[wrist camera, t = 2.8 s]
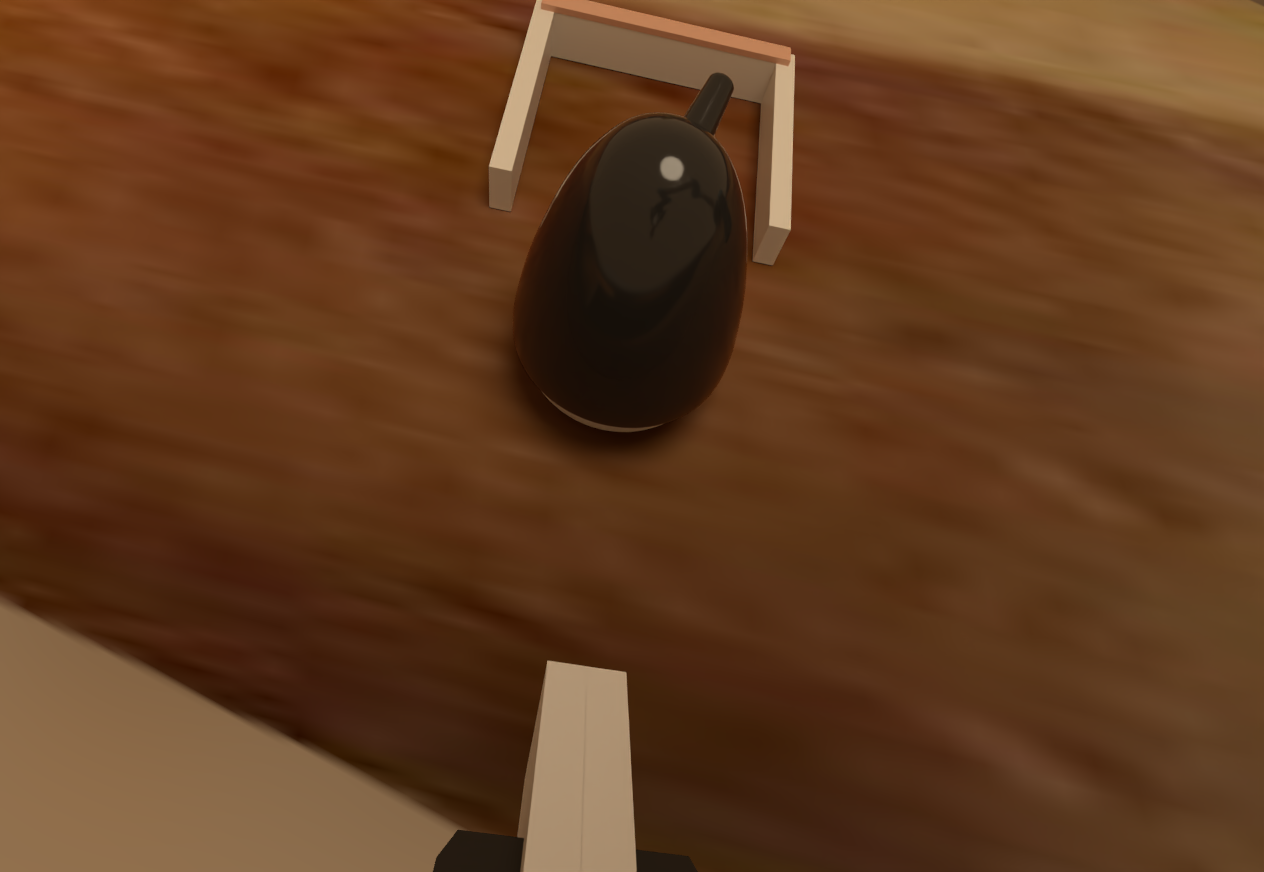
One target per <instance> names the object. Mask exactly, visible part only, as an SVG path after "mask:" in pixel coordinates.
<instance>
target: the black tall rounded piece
mask: <svg viewBox="0 0 1264 872" xmlns="http://www.w3.org/2000/svg"><path fill="white" fill-rule="evenodd" d="M733 90H734V85H733V82H732V80H731V79H730V78H729V77H728V76H727V75H725V74H723V73H713V74H711V75H710V76H709V78H708V79H707V81H706V82H705V84H704V86H703V87H702V89H701V90H700V92H699V93H698V95H697V97H696V98H695V100H694V101H693V103H692V104H691V106H690V108H689V109H688V111H687V112H686V114H685V116H684V117H682V116H679V115H675V114H669V113H646V114H641V115H638V116H635V117H632V118H629V119H627V120H625V121H623V122H621V123H620V124H618V125H616V126H615V127H613V128H612V129H611V130H609V131H608V132H607V133H605V134H604V135H603V136H602V137H601V138H599V139H598V140H597V141H596V142H595V143H594V144H593V145H592V146H591V147H590V148H589V149H588V150H587V151H586V152H585V153H584V154H583V155H582V157H581V158H580V159H579V160H578V162H577V163H576V164H575V165H574V167H573V168H572V170H571V171H570V172H569V174H568V175H567V177H566V178H565V180H564V181H563V183H562V184H561V186H560V188H559V190H558V191H557V193H556V195H555V197H554V199H553V200H552V202H551V204H550V206H549V208H548V210H547V212H546V214H545V216H544V218H543V220H542V222H541V224H540V226H539V228H538V230H537V232H536V235H535V237H534V239H533V242H532V244H531V247H530V249H529V252H528V255H527V258H526V261H525V264H524V267H523V270H522V274H521V277H520V281H519V284H518V288H517V292H516V297H515V303H514V311H513V336H514V342H515V347H516V350H517V353H518V356H519V359H520V361H521V363H522V365H523V367H524V369H525V371H526V372H527V374H528V375H529V377H530V378H531V380H532V381H533V382H534V383H535V385H536V386H537V387H538V388H539V389H540V390H541V392H542V393H543V394H544V395H545V396H546V398H547V399H548V400H549V401H550V402H551V403H552V404H553V405H554V406H556V407H557V408H558V409H559V410H560V411H562V412H563V413H565V414H566V415H568V416H569V417H571V418H573V419H574V420H576V421H578V422H581V423H583V424H585V425H588V426H591V427H594V428H597V429H601V430H607V431H614V432H634V431H641V430H646V429H650V428H654V427H657V426H660V425H662V424H665V423H668V422H671V421H673V420H676V419H678V418H680V417H682V416H684V415H686V414H688V413H689V412H691V411H693V410H694V409H695V408H697V407H698V406H699V405H701V404H702V403H703V402H704V401H705V400H706V399H707V398H708V397H709V396H710V395H711V393H712V392H713V391H714V389H715V388H716V386H717V385H718V383H719V382H720V380H721V378H722V376H723V374H724V372H725V370H726V368H727V365H728V363H729V360H730V358H731V355H732V352H733V348H734V344H735V341H736V337H737V332H738V328H739V324H740V319H741V314H742V308H743V302H744V294H745V284H746V270H747V223H746V213H745V206H744V200H743V195H742V191H741V187H740V183H739V180H738V177H737V174H736V171H735V169H734V166H733V164H732V162H731V160H730V158H729V156H728V154H727V152H726V151H725V149H724V148H723V146H722V145H721V144H720V143H719V141H718V140H717V139H716V138H715V137H714V135H715V133H716V130H717V128H718V126H719V123H720V121H721V119H722V116H723V114H724V112H725V109H726V107H727V105H728V102H729V100H730V98H731V95H732V93H733Z"/></svg>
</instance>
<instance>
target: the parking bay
mask: <svg viewBox="0 0 1264 872" xmlns="http://www.w3.org/2000/svg"><path fill="white" fill-rule="evenodd" d="M551 56H553V57H557V58H562V59H566V60H571V61H575V62H580V63H584V64H588V65H593V66H597V67H602V68H606V69H611V70H615V71H620V72H624V73H628V74H633V75H637V76H642V77H646V78H651V79H655V80H659V81H664V82H668V83H673V84H677V85H682V86H686V87H690V88H695V89H699V90H701V89H702V87H703V86H704V84H705V82H706V81H707V79H708V78H709V76H710V75H711V74H713V73H723V74H725V75H727V76H728V77H729V78H730V79H731V80H732V82H733V85H734V90H733V93H732V95H731V97H735V98H739V99H744V100H748V101H753V102H757V103H761V114H760V132H759V150H758V169H757V187H756V205H755V224H754V242H753V260H752V261H753V262H758V263H763V264H768V265H773V264H774V262H775V260H776V258H777V256H778V254H779V252H780V250H781V248H782V246H783V244H784V242H785V240H786V238H787V236H788V234H789V232H790V230H791V193H792V153H793V112H794V72H795V55H792V54H791V48H789V47H785V46H781V45H776V44H772V43H768V42H764V41H759V40H755V39H751V38H746V37H742V36H738V35H734V34H729V33H725V32H721V31H716V30H712V29H708V28H704V27H699V26H695V25H691V24H686V23H682V22H678V21H674V20H669V19H665V18H661V17H656V16H652V15H648V14H644V13H639V12H635V11H631V10H626V9H622V8H618V7H614V6H609V5H605V4H601V3H596V2H592V1H588V0H537V1H536V4H535V8H534V11H533V15H532V18H531V22H530V25H529V29H528V32H527V36H526V39H525V42H524V46H523V49H522V53H521V56H520V60H519V63H518V67H517V70H516V74H515V77H514V81H513V84H512V88H511V91H510V95H509V98H508V102H507V105H506V109H505V112H504V116H503V119H502V123H501V126H500V130H499V133H498V136H497V140H496V143H495V147H494V150H493V154H492V157H491V161H490V164H489V207H490V208H495V209H500V210H505V211H510V212H511V209H512V205H513V201H514V197H515V193H516V189H517V185H518V182H519V178H520V174H521V170H522V166H523V162H524V158H525V154H526V151H527V147H528V143H529V139H530V135H531V131H532V127H533V123H534V120H535V116H536V112H537V108H538V104H539V100H540V96H541V92H542V89H543V85H544V81H545V77H546V73H547V69H548V65H549V61H550V58H551Z"/></svg>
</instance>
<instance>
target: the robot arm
mask: <svg viewBox="0 0 1264 872" xmlns="http://www.w3.org/2000/svg"><path fill="white" fill-rule="evenodd" d="M433 872H697V870H696V868H695V866H694V865H693V863H692V861H691V859H690V858H689V856H682V855H674V854H666V853H658V852H650V851H642V850H636V849H635V830H634V811H633V792H632V773H631V754H630V735H629V716H628V697H627V678H626V672H621V671H614V670H607V669H600V668H594V667H587V666H580V665H573V664H567V663H560V662H553V661H547V666H546V672H545V677H544V682H543V687H542V692H541V697H540V703H539V708H538V713H537V718H536V723H535V729H534V734H533V739H532V744H531V749H530V755H529V760H528V765H527V770H526V775H525V782H524V790H523V797H522V805H521V813H520V820H519V828H518V835H517V837H511V836H503V835H495V834H487V833H479V832H471V831H463V830H457V832H456V833H455V834H454V836H453V837H452V838H451V840H450V841H449V842H448V843H447V845H446V846H445V847H444V848H443V850H442V851H441V852H440V854H439V855H438V856H437V858H436V862H435V866H434V870H433Z"/></svg>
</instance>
